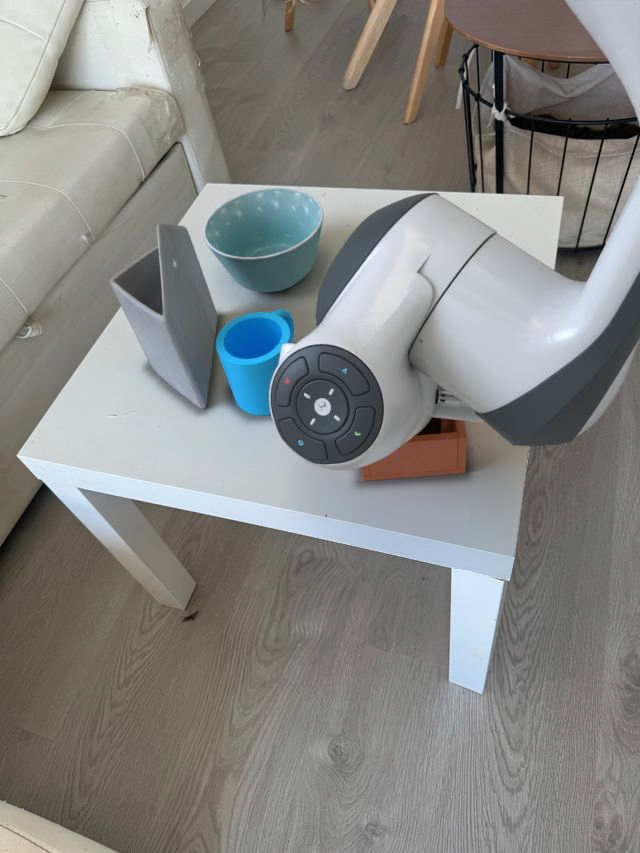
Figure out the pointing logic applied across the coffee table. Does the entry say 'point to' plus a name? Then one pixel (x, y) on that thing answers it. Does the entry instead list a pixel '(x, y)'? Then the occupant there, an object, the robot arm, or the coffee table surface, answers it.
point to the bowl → (266, 237)
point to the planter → (171, 312)
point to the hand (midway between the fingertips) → (408, 384)
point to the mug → (253, 355)
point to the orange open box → (424, 455)
